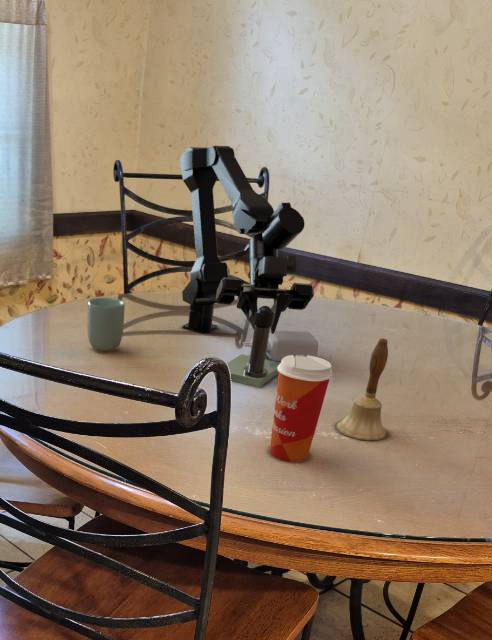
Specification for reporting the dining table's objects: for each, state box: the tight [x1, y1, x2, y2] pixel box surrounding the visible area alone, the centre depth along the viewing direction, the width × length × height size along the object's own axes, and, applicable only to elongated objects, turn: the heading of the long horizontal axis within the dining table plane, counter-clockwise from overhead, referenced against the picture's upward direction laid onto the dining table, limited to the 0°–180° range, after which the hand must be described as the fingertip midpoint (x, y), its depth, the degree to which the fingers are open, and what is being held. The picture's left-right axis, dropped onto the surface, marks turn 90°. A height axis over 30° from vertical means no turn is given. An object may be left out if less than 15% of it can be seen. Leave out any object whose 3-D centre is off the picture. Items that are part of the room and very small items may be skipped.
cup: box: [86, 297, 126, 352], centre depth 153 cm, size 8×8×10 cm
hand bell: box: [336, 338, 389, 442], centre depth 119 cm, size 8×8×16 cm
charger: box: [242, 329, 320, 362], centre depth 155 cm, size 5×9×15 cm
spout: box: [254, 305, 274, 327], centre depth 139 cm, size 9×4×6 cm, turn 169°
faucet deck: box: [227, 325, 281, 388], centre depth 143 cm, size 13×10×11 cm
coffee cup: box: [269, 355, 334, 463], centre depth 110 cm, size 8×8×15 cm
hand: (265, 332), depth 142 cm, fingers open, 3 cm apart
